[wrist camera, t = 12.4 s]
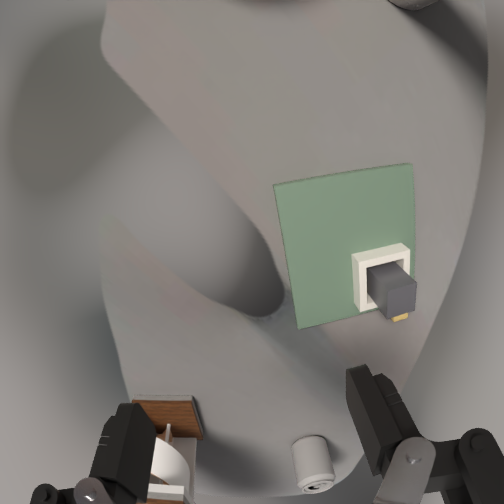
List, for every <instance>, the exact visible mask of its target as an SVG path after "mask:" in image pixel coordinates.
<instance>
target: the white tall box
mask: <svg viewBox="0 0 504 504" xmlns="http://www.w3.org/2000/svg"><path fill="white" fill-rule="evenodd" d="M132 403H139V404H140V405H141V406H142V408H143V409H144V411H145V412H146V414H147V415H148V417H149V418H150V420H151V421H152V422H153V424H154V426H155V429H156V443H155V449H154V455H153V461H152V468H151V474H150V481H149V488H148V495H147V502H146V503H136V504H195V502H194V481H195V462H196V446H197V440H203V429H202V426H201V423H200V420H199V417H198V413H197V410H196V407H195V403H194V400H193V397H192V395H188V396H157V395H134V396H133V400H132Z"/></svg>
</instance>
